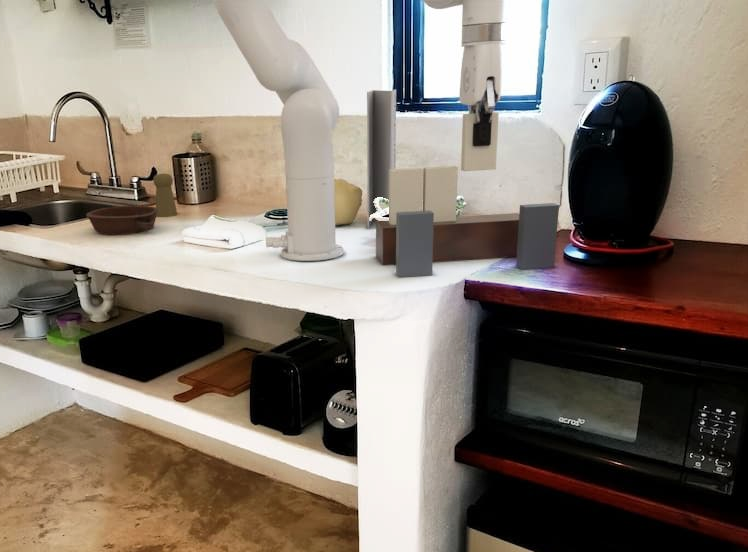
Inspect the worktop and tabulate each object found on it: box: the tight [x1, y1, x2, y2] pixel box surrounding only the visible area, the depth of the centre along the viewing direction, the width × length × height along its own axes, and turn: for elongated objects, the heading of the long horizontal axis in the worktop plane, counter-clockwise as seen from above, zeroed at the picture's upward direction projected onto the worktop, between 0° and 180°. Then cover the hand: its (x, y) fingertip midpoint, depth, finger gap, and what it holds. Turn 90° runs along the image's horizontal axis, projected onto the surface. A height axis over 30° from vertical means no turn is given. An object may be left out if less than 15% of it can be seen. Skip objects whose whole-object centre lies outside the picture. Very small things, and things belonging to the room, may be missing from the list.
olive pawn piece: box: [152, 173, 178, 218], centre depth 211 cm, size 6×6×11 cm
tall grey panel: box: [366, 88, 397, 230], centre depth 180 cm, size 14×6×30 cm, turn 168°
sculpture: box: [334, 178, 363, 226], centre depth 185 cm, size 12×12×11 cm
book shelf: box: [375, 212, 519, 266], centre depth 148 cm, size 28×7×7 cm, turn 94°
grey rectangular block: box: [515, 202, 560, 270], centre depth 136 cm, size 6×3×11 cm, turn 94°
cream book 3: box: [460, 111, 500, 172], centre depth 142 cm, size 6×2×10 cm, turn 94°
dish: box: [85, 205, 158, 235], centre depth 192 cm, size 18×22×5 cm
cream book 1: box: [389, 167, 423, 225], centre depth 144 cm, size 6×2×10 cm, turn 94°
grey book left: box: [395, 210, 434, 278], centre depth 136 cm, size 6×3×11 cm, turn 94°
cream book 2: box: [422, 165, 459, 222], centre depth 145 cm, size 6×2×10 cm, turn 94°
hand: (479, 144), depth 142 cm, fingers closed on cream book 3, 2 cm apart
